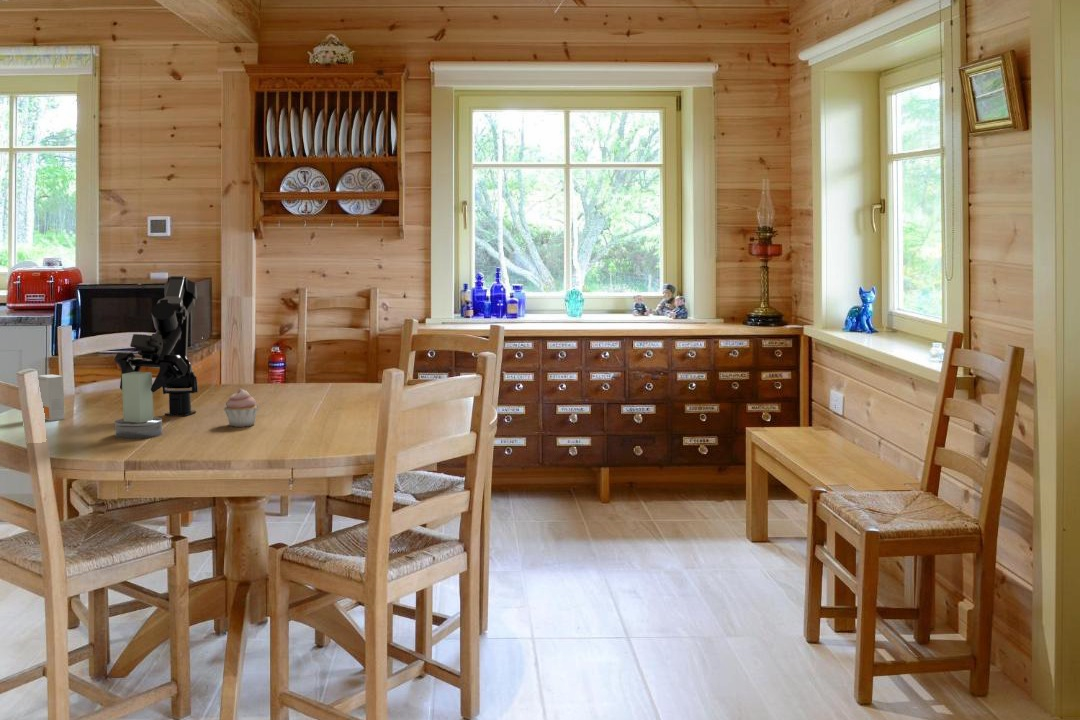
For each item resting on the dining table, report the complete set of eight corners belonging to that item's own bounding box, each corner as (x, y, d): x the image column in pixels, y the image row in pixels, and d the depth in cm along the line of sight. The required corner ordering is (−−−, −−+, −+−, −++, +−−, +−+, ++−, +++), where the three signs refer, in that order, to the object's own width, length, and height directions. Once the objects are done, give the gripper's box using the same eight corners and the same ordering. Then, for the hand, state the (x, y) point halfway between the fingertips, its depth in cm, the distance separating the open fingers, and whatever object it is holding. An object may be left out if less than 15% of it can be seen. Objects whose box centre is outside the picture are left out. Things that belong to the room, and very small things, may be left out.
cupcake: (221, 423, 272) (220, 386, 271) (256, 421, 276) (256, 384, 275) (225, 429, 264) (224, 391, 263) (262, 427, 267) (261, 389, 266)
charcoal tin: (130, 431, 261) (130, 415, 261) (170, 432, 260) (170, 417, 259) (105, 439, 250) (105, 423, 250) (147, 441, 249) (147, 425, 248)
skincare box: (39, 418, 276) (37, 375, 275) (54, 416, 280) (52, 373, 278) (50, 421, 273) (48, 377, 271) (65, 419, 276) (63, 375, 275)
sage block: (136, 418, 258) (135, 371, 256) (153, 419, 256) (151, 372, 255) (123, 421, 253) (121, 374, 252) (140, 422, 252) (138, 374, 250)
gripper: (117, 320, 259) (88, 368, 250) (179, 323, 254) (152, 372, 245) (139, 348, 268) (112, 395, 259) (199, 351, 262) (173, 399, 253)
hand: (136, 390), depth 254 cm, fingers open, 9 cm apart
